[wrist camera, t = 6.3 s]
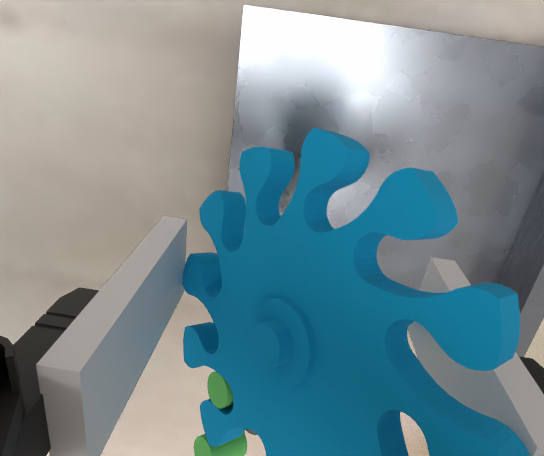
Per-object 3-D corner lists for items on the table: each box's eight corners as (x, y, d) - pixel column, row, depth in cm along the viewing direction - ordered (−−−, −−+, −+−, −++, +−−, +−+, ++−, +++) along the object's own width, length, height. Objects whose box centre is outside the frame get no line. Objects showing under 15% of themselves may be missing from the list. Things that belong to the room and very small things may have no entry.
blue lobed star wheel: (268, 35, 9) (728, 512, 4) (406, 92, 13) (730, 372, 8) (128, 316, 15) (240, 656, 10) (252, 298, 19) (379, 535, 14)
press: (217, 351, 30) (150, 578, 17) (249, 8, 21) (152, -51, 8) (462, 390, 30) (578, 652, 17) (610, 58, 20) (1125, 84, 7)
